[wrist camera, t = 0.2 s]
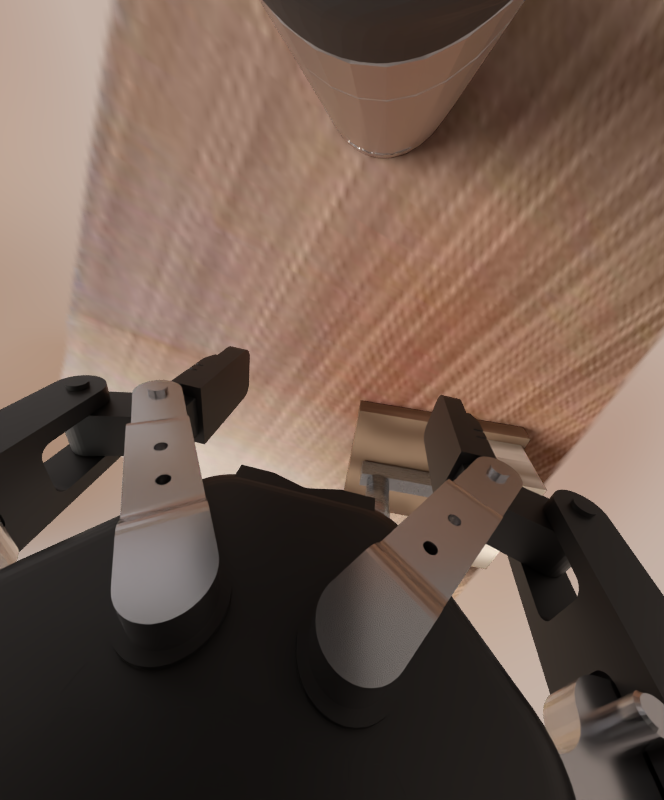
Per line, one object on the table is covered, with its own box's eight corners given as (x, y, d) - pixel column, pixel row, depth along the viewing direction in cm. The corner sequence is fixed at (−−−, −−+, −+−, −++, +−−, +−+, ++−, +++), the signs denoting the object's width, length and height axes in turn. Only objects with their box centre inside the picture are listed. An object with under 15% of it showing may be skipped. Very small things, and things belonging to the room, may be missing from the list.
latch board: (360, 400, 34) (355, 447, 27) (522, 427, 32) (558, 483, 26) (343, 491, 43) (336, 544, 36) (470, 515, 41) (487, 574, 35)
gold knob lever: (363, 457, 35) (355, 556, 25) (439, 470, 35) (462, 578, 25) (359, 475, 37) (350, 575, 27) (431, 488, 36) (450, 595, 26)
